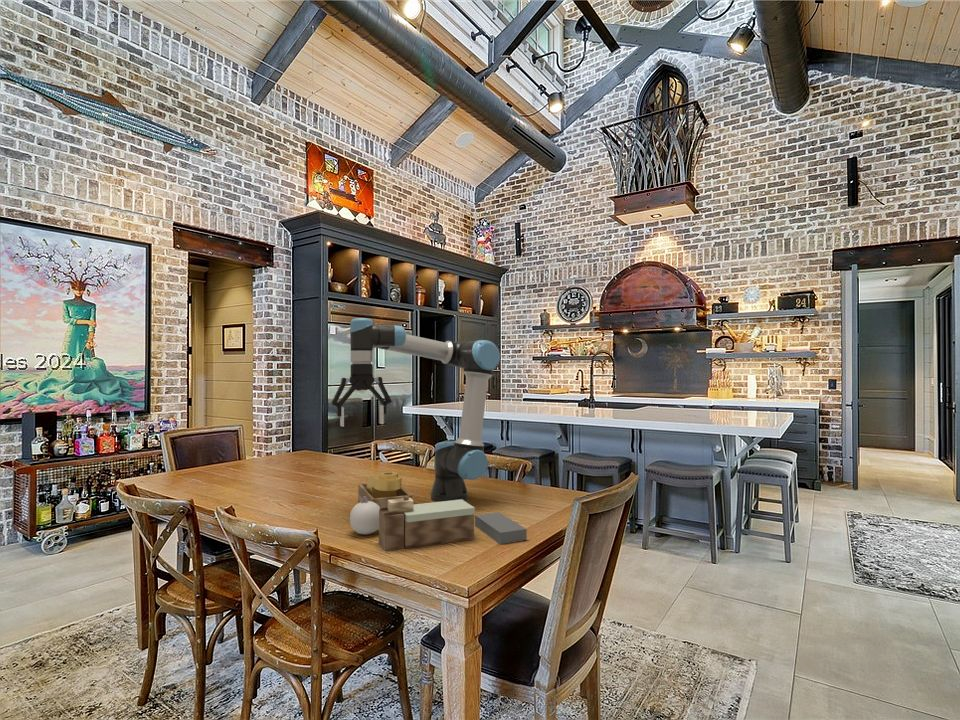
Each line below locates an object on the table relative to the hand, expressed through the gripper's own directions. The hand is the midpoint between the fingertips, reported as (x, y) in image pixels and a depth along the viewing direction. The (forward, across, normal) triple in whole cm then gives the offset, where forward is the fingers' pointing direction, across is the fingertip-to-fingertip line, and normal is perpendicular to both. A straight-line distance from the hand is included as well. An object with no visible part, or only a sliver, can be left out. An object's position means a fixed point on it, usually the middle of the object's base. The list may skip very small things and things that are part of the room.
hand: (362, 425), depth 176 cm
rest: (+34, -38, +29) cm, 59 cm away
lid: (+26, -17, +26) cm, 40 cm away
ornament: (+34, +2, +11) cm, 36 cm away
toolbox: (+34, -14, +26) cm, 45 cm away
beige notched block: (+23, -6, +26) cm, 35 cm away
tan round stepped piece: (+34, -9, -6) cm, 36 cm away
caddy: (+34, -9, -7) cm, 36 cm away
